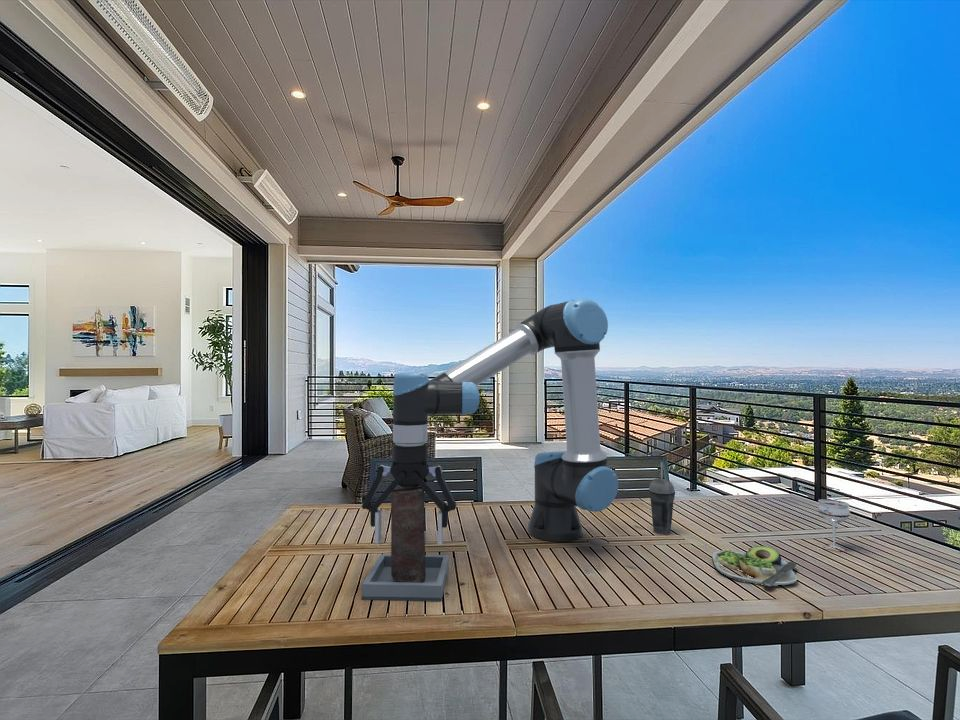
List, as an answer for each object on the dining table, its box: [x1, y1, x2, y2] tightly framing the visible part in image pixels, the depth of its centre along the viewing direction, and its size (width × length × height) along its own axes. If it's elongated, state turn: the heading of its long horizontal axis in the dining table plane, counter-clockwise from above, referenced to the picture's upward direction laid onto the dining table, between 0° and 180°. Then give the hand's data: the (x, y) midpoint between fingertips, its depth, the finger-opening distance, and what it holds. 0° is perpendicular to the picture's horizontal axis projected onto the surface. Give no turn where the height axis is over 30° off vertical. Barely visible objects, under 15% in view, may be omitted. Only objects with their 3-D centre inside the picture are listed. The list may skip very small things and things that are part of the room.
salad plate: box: [711, 545, 798, 587], centre depth 109 cm, size 19×18×5 cm
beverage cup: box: [648, 461, 676, 536], centre depth 137 cm, size 7×7×20 cm
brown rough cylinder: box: [390, 486, 426, 583], centre depth 103 cm, size 8×7×20 cm
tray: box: [361, 553, 450, 602], centre depth 103 cm, size 16×16×3 cm
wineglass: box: [817, 498, 851, 548], centre depth 125 cm, size 7×7×12 cm
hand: (409, 542), depth 103 cm, fingers open, 13 cm apart
